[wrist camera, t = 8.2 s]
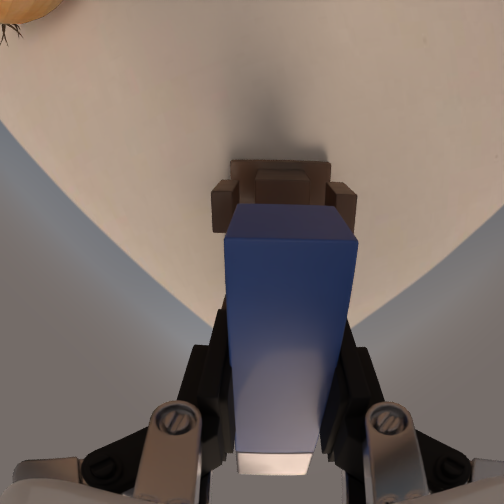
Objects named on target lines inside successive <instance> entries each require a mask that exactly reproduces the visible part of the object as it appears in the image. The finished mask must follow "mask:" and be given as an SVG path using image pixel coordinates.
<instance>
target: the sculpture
mask: <svg viewBox="0 0 504 504" xmlns="http://www.w3.org/2000/svg"><path fill="white" fill-rule="evenodd" d="M61 2H62V0H0V24H2V31H3V36H4V38H5V27H6V25H8V26H9V27H11V28H13V29H14V30H15V31H17V32H18V28H17V27H19V26H18V25H17V24H23V23H27V22H29V21H32V20H35V19H38V18H41V17H44V16H45V15H47V14H48V13H49V12H51V11H52V10H54V9H55V8H56V7H57V6H58V5H59V4H60V3H61ZM10 24H12V25H15V27H16V29H17V30H16V29H15V28H14V27H13V26H11V25H10ZM19 29H20V27H19ZM19 34H20V33H19V32H18V36H19ZM20 35H21V34H20ZM21 36H22V35H21ZM2 40H3V37H2ZM2 40H1V42H2ZM5 40H6V38H5ZM6 43H7V41H6ZM0 45H1V43H0ZM7 45H8V44H7Z"/></svg>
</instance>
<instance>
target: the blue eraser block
mask: <svg viewBox="0 0 504 504" xmlns="http://www.w3.org/2000/svg"><path fill="white" fill-rule="evenodd" d="M357 251H358V240H357V239H356V237H355V236H354V234H353V233H352V231H351V230H350V228H349V227H348V225H347V224H346V222H345V221H344V220H343V218H342V217H341V215H340V214H339V212H338V211H337V210H336V208H335V207H334V206H320V205H290V204H237V206H236V209H235V211H234V214H233V217H232V219H231V222H230V224H229V227H228V230H227V232H226V235H225V238H224V259H225V284H226V306H227V327H228V345H229V363H230V366H231V367H232V379H233V395H234V411H235V426H236V432H235V450H236V461H237V472H238V473H239V474H253V475H254V474H255V475H305V474H307V472H308V469H309V466H310V462H311V459H312V456H313V453H314V450H315V447H316V443H317V440H318V437H319V433H320V427H321V423H322V420H323V416H324V412H325V408H326V404H327V400H328V396H329V392H330V388H331V384H332V380H333V375H334V371H335V368H336V367H337V363H338V358H339V354H340V349H341V344H342V339H343V334H344V329H345V324H346V319H347V313H348V308H349V302H350V296H351V291H352V284H353V278H354V272H355V265H356V258H357Z"/></svg>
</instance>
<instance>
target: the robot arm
mask: <svg viewBox="0 0 504 504" xmlns="http://www.w3.org/2000/svg"><path fill="white" fill-rule="evenodd" d="M235 432H236V426H235V411H234V395H233V379H232V367H231V366H230V363H229V345H228V327H227V309H218V312H217V316H216V319H215V323H214V327H213V331H212V336H211V339H210V343H209V345H194V346H193V349H192V352H191V355H190V358H189V361H188V365H187V368H186V371H185V374H184V378H183V381H182V384H181V388H180V391H179V394H178V397H177V400H176V401H169V402H166V403H163V404H161V405H160V406H158V407H157V408H156V409H155V410H154V411H153V413H152V415H151V418H150V422H149V426H148V427H146V428H143V429H141V430H139V431H137V432H135V433H133V434H131V435H129V436H127V437H124V438H122V439H120V440H118V441H116V442H113V443H111V444H109V445H107V446H104V447H102V448H100V449H97V450H95V451H93V452H91V453H90V454H88V455H87V456H86V457H85V458H84V459H78V458H77V457H68V458H56V459H40V460H39V459H38V460H25V461H22V462H21V463H19V464H18V465H17V466H16V468H15V469H14V473H13V484H12V485H10V486H9V487H8V488H7V489H6V490H5V491H4V492H3V493H2V495H1V496H0V504H211V497H212V477H213V470H214V469H215V468H217V467H218V466H220V465H222V461H226V456H227V453H233V449H234V440H235ZM320 439H321V449H322V453H323V454H326V453H327V454H328V462H333V461H335V465H337V466H338V467H340V468H341V469H342V504H504V461H496V460H487V459H479V458H474V459H473V460H472V461H470V460H469V459H468V458H467V457H466V456H465V455H464V454H463V453H461V452H459V451H457V450H455V449H453V448H451V447H449V446H447V445H445V444H443V443H441V442H439V441H437V440H435V439H433V438H431V437H429V436H427V435H425V434H423V433H422V432H420V431H418V430H416V429H415V427H414V423H413V420H412V417H411V414H410V412H409V411H408V410H407V409H406V408H405V407H403V406H401V405H400V404H397V403H394V402H385V400H384V397H383V394H382V391H381V388H380V385H379V382H378V379H377V376H376V373H375V370H374V367H373V364H372V361H371V358H370V355H369V353H368V350H367V348H366V347H356V344H355V341H354V338H353V335H352V332H351V329H350V326H349V323H348V320H347V319H346V324H345V329H344V334H343V339H342V344H341V349H340V354H339V358H338V363H337V367H336V368H335V371H334V375H333V380H332V384H331V388H330V392H329V396H328V400H327V404H326V408H325V412H324V416H323V420H322V423H321V427H320Z"/></svg>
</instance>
